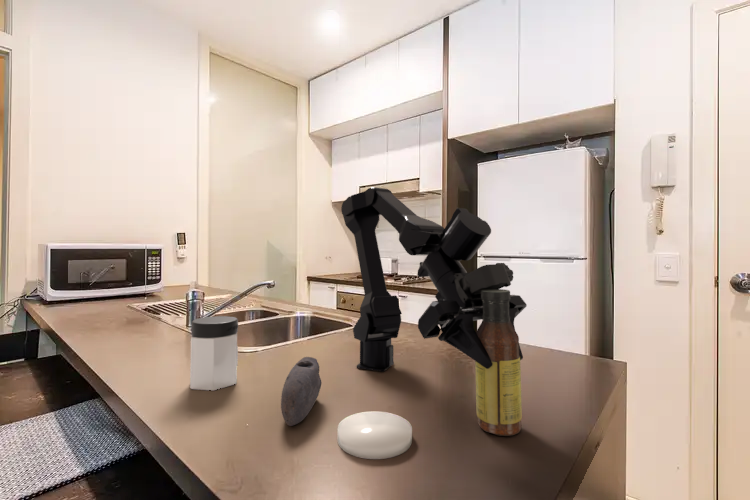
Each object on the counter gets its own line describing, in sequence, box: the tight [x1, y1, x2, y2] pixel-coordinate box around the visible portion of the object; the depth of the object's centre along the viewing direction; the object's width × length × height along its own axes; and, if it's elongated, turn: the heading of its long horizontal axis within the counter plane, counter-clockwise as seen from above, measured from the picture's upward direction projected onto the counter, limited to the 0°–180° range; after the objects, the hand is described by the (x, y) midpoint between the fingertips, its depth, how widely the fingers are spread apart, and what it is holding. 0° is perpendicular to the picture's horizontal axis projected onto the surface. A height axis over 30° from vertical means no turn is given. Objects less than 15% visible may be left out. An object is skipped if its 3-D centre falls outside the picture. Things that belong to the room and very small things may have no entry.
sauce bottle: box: [474, 288, 523, 437], centre depth 53 cm, size 7×6×20 cm
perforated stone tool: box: [280, 356, 322, 427], centre depth 58 cm, size 15×5×7 cm, turn 177°
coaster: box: [337, 410, 413, 460], centre depth 50 cm, size 10×10×2 cm
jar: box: [189, 315, 239, 392], centre depth 70 cm, size 9×8×12 cm
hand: (505, 363), depth 52 cm, fingers closed on sauce bottle, 6 cm apart
